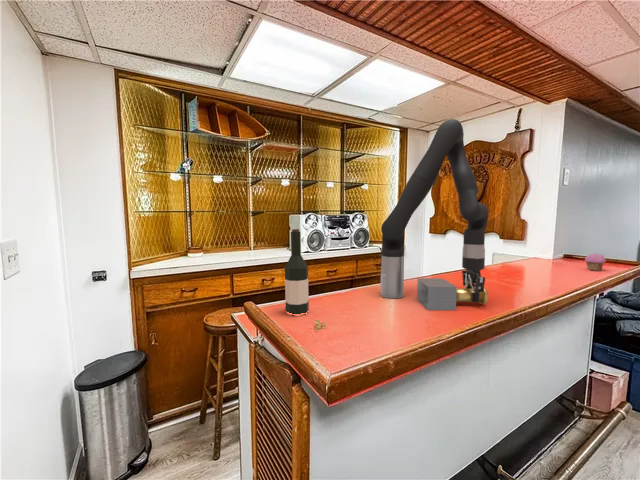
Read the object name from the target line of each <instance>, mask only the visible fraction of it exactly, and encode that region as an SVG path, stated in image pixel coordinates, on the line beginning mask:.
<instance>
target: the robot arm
mask: <svg viewBox="0 0 640 480" xmlns="http://www.w3.org/2000/svg"><path fill="white" fill-rule="evenodd" d="M464 143H465V142H464V127H463V124H462V123H461V122H460V120H457V119H456V118H451V119H447V120H444V121H443V122H442V123H441V124H440V125H439V126H438V128H437V129H436V132H435V134H434V137H433V139H432V141H431V143H430V145H429V146H428V149H427V151H426V152H425V154H424V155H423V156H422V158H421V160H420V161H419V163H418V164H417V166H416V167H415V169H414V171H413V173H412V174H411V175H410V177H409V179H408V181H407V182H406V184H405V186H404V188H403V190H402V192H401V195H400V197H399V199H398V201H397V203H396V205H395V207H394V208H393V209H392V211H391V213H390V214H389V215H388V216H387V218H386V219H385V220H384V221H383V222H382V224H381V228H380V231H381V238H382V239H381V271H380V296H382V298H387V299H401V298H403V297H404V295H405V290H404V289H405V280H404V279H405V230H406V228H407V226H408V224H409V221H410V220H411V217H412V216H413V214H414V213H415V212H416V211H417V209H418V208H419V206H420V205H421V203H423V201H424V199H425V198H426V197H427V195H428V194H429V193H430V191H431V189H432V188H433V186H434V184H435V182H436V180H437V178H438V176H439V173H440V171H441V168H442V165H443V163H444V160H445V158H446V157H447V160H448V161H449V162H448V163H449V165H450V168H451V174H452V178H453V181H454V185H455V189H456V192H457V195H458V205H459V206H458V207H459V211H460V215H461V216H462V218H463V220H464V221H466V222H467V223H468V224H467V228H465V229H464V231H463V240H462V241H463V244H462V245H463V246H462V258H461V260H462V262H461V263H462V264H461V268H463V269H465V270H462V271H461V274H462V285H463V286H464V289H472V291H473V292H472V302H471V303H475V304H476V303H480V302H479V293H481V292H483V290H484V287H485V282H486V277H485V276H482V275H481V270H485V267H486V266H485V260H486V257H485V256H486V248H485V241H486V240H485V237H486V236H485V235H486V234H485V233H486V229H487V224H488V221H489V209H488V207H487V205H486V204H484V203H481V202H479V200H478V196H477V195H478V194H479V193H480V192H479V186H478V183H477V180H476V178H475V175H474V172H473V169H472V167H471V165H470V162H469V160H468V158H467V154H466V151H465V144H464ZM480 287H481V289H480Z"/></svg>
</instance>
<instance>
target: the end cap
mask: <svg viewBox="0 0 640 480" xmlns="http://www.w3.org/2000/svg"><path fill="white" fill-rule="evenodd" d="M480 289H481V287H480ZM472 292H473V291H472V288H471V289H466V288H457V290H456V303H473V302H472ZM488 299H489V293H488V290H487V288H486V286H484V290H483V292H481V293H479V303H480V304H482V305H484V304H487V303H488Z"/></svg>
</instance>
